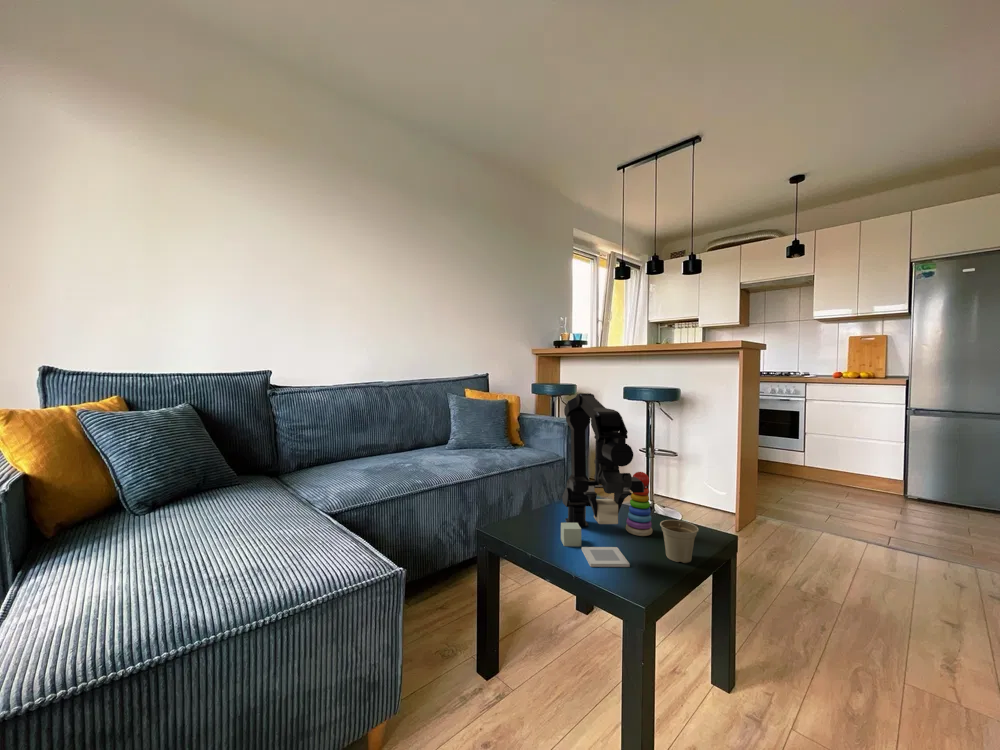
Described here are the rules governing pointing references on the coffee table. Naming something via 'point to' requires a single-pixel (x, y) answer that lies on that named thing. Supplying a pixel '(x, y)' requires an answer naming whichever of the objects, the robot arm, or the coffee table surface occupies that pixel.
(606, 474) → the robot arm
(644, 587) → the coffee table surface
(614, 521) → the block birch
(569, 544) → the block sage
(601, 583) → the coffee table surface
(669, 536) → the flower pot
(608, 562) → the plate
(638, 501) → the stacking toy
